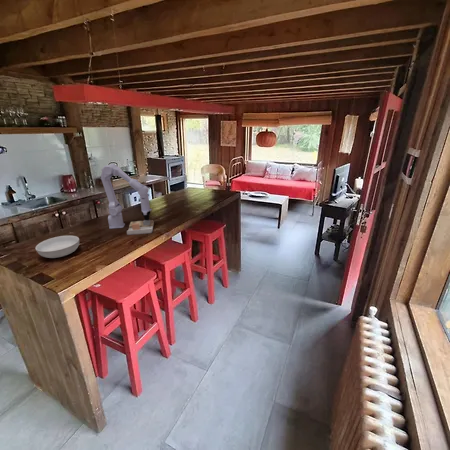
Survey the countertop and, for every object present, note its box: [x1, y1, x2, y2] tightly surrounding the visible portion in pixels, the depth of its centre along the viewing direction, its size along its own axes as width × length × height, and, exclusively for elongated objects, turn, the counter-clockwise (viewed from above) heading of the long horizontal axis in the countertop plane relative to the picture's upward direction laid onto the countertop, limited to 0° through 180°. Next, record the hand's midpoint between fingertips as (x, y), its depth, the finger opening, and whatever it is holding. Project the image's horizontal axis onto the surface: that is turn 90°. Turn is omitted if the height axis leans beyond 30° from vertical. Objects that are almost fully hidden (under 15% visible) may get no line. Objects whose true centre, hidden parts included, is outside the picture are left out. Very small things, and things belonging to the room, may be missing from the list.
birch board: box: [128, 219, 155, 229], centre depth 183 cm, size 16×10×2 cm, turn 101°
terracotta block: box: [132, 223, 140, 230], centre depth 175 cm, size 4×4×2 cm
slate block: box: [142, 219, 151, 226], centre depth 180 cm, size 4×4×2 cm
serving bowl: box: [34, 235, 80, 259], centre depth 143 cm, size 21×21×7 cm
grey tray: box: [126, 225, 154, 236], centre depth 174 cm, size 16×9×3 cm, turn 101°
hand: (147, 221), depth 183 cm, fingers closed
